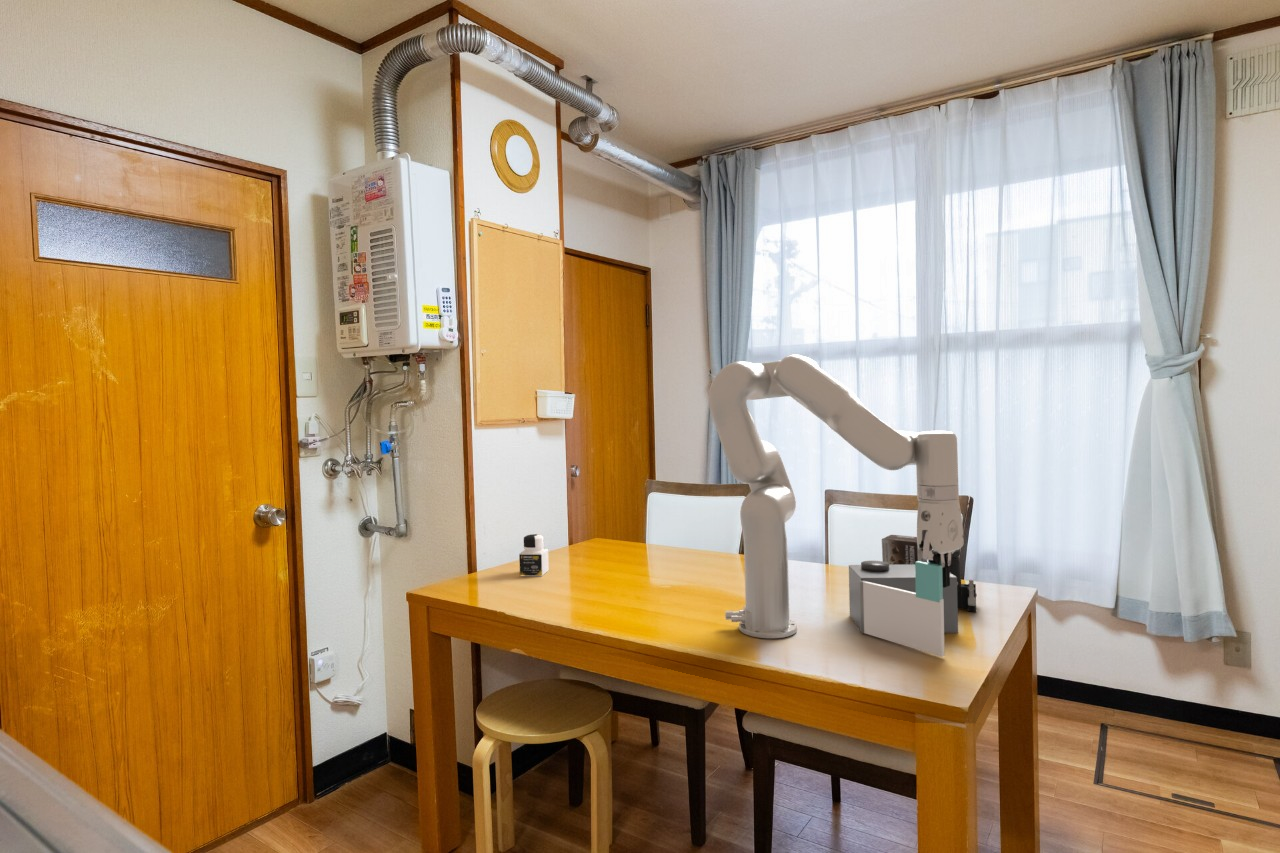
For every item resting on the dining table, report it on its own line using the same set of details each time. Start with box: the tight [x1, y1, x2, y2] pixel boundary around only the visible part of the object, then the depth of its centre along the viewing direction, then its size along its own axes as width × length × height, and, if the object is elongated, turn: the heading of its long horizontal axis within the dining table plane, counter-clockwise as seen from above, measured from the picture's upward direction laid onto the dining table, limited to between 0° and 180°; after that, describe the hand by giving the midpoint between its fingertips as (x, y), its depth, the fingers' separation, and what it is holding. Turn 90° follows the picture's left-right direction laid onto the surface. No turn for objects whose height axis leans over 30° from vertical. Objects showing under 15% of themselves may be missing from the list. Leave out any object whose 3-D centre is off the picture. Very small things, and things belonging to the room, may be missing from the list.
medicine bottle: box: [518, 533, 550, 577], centre depth 207 cm, size 7×7×12 cm
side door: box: [859, 561, 946, 658], centre depth 137 cm, size 19×1×18 cm, turn 34°
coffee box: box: [881, 534, 928, 565], centre depth 166 cm, size 9×6×16 cm
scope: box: [947, 549, 978, 613], centre depth 161 cm, size 8×14×10 cm
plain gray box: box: [848, 560, 959, 634], centre depth 150 cm, size 20×12×13 cm, turn 85°
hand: (940, 585), depth 133 cm, fingers closed
